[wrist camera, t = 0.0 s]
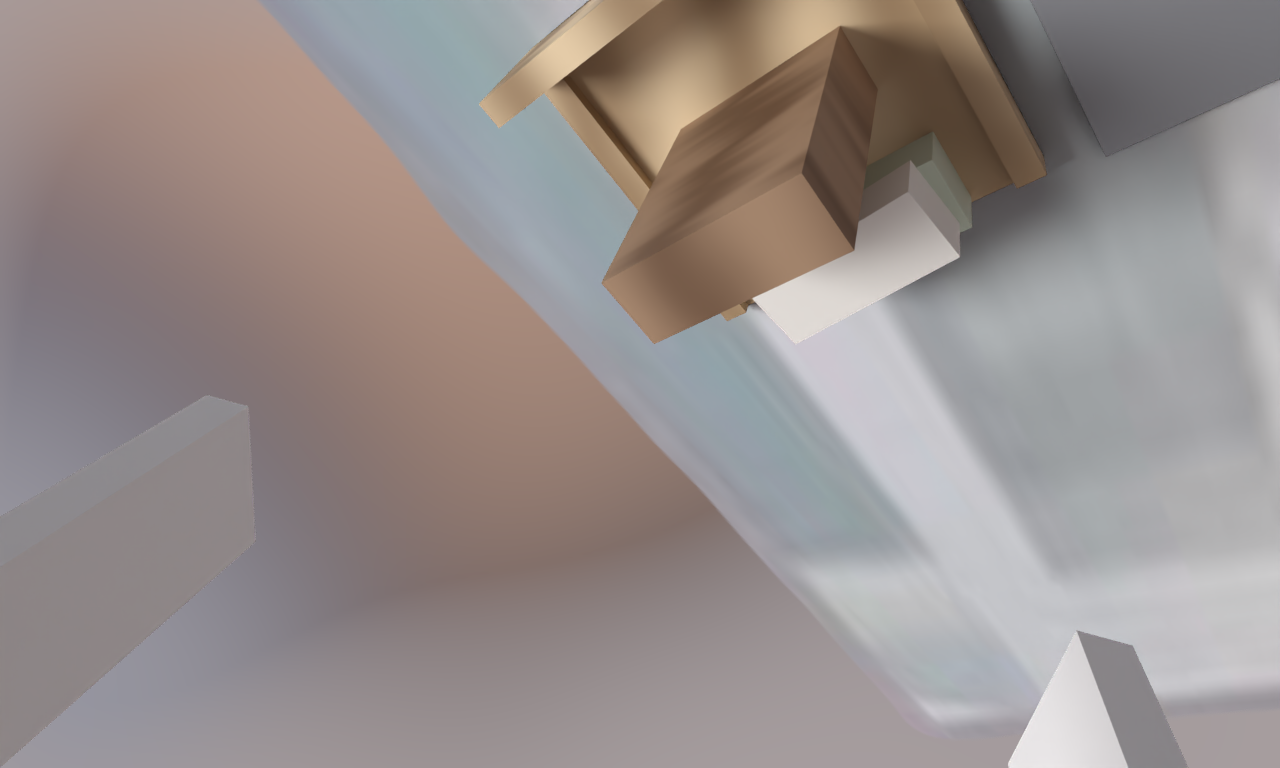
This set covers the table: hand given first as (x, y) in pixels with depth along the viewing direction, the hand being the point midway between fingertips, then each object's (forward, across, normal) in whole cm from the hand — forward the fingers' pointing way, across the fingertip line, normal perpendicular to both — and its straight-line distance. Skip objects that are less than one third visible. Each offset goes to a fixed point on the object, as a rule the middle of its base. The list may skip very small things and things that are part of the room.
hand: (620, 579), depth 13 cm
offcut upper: (+26, +4, 0) cm, 26 cm away
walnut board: (+27, -1, +4) cm, 27 cm away
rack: (+28, -1, +5) cm, 28 cm away
